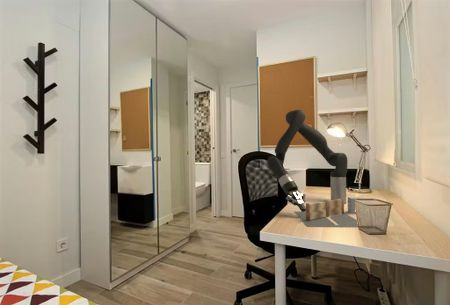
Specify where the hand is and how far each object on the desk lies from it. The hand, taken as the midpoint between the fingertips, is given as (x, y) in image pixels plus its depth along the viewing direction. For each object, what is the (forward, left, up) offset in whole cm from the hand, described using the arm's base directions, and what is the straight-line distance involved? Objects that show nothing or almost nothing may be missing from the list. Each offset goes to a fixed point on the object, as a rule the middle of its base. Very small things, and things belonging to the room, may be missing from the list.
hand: (304, 210), depth 115 cm
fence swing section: (+2, +5, -3) cm, 6 cm away
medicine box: (-10, +31, -4) cm, 33 cm away
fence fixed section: (-5, +17, -3) cm, 18 cm away
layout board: (+1, +11, -4) cm, 11 cm away
